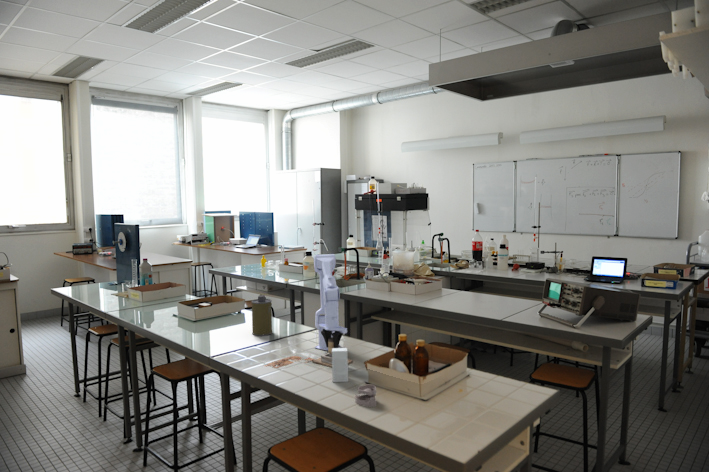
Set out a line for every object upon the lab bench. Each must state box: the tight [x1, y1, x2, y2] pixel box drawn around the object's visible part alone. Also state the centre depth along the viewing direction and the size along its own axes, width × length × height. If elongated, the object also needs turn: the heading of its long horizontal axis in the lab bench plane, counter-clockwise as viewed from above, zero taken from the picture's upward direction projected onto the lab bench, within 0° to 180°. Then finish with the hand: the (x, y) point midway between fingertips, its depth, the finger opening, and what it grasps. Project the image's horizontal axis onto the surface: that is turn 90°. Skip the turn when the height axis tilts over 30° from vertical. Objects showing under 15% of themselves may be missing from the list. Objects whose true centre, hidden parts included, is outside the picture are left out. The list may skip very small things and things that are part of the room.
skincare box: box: [331, 347, 349, 383], centre depth 180 cm, size 6×4×12 cm
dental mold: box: [354, 383, 377, 408], centre depth 159 cm, size 8×7×5 cm
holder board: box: [311, 352, 353, 368], centre depth 200 cm, size 10×14×3 cm
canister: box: [251, 294, 273, 337], centre depth 247 cm, size 11×10×20 cm
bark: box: [262, 355, 316, 369], centre depth 200 cm, size 22×12×1 cm, turn 139°
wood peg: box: [327, 337, 334, 354], centre depth 200 cm, size 4×4×6 cm
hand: (332, 347), depth 200 cm, fingers closed on wood peg, 3 cm apart
